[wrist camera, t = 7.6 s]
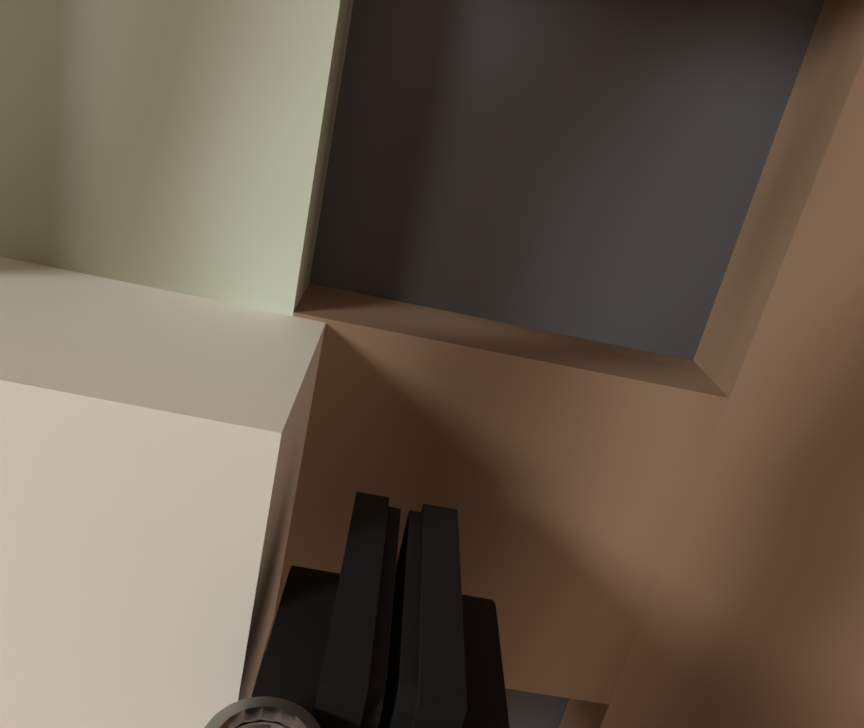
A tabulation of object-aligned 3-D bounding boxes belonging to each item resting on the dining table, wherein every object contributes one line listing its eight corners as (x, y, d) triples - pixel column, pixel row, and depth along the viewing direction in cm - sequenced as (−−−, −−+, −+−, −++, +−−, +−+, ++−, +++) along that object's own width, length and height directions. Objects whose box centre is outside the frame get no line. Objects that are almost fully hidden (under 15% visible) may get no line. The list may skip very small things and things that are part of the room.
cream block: (325, 322, 12) (281, 432, 8) (274, 613, 14) (221, 805, 10) (-55, 244, 11) (-285, 325, 8) (-49, 559, 14) (-228, 741, 10)
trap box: (1213, -52, 12) (1572, -110, 8) (708, 908, 20) (772, 1094, 17) (-62, -396, 10) (-342, -669, 6) (-35, 809, 19) (-148, 991, 15)
